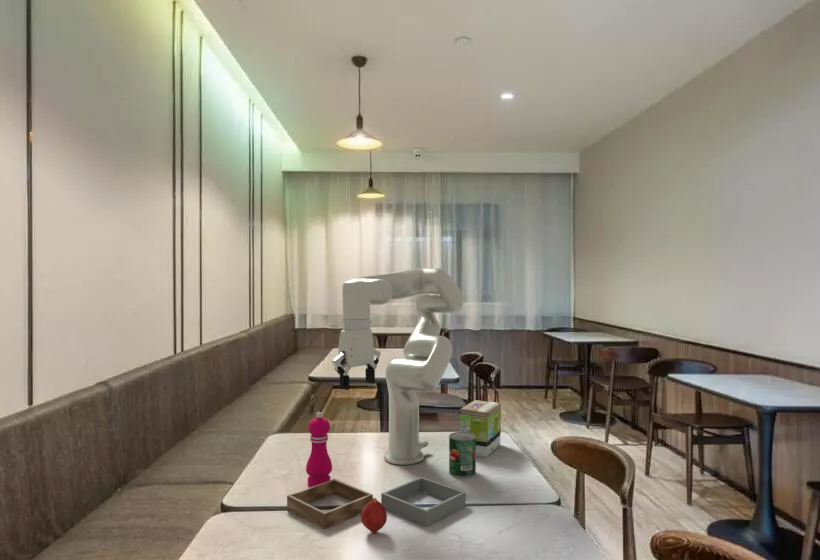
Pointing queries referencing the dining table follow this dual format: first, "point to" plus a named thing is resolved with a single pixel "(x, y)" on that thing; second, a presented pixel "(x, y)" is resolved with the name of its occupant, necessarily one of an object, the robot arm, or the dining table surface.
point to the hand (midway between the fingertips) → (357, 385)
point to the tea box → (482, 425)
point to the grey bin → (422, 516)
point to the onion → (374, 515)
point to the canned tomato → (462, 454)
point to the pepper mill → (318, 452)
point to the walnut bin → (315, 515)
